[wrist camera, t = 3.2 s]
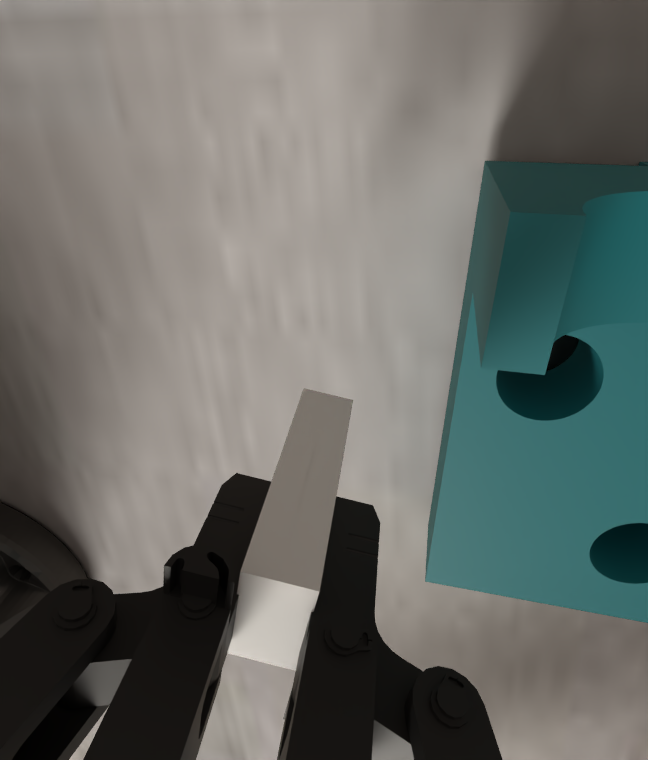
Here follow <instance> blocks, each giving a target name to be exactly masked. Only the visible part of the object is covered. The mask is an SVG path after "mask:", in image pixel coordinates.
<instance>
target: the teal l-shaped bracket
mask: <svg viewBox="0 0 648 760" xmlns="http://www.w3.org/2000/svg"><path fill="white" fill-rule="evenodd" d="M564 335H569V336H573V337H576V338H578V339H579V343H578V345H577V347H576V349H575V351H574V352H573V354H572V355H571V356H570V357H569V358H568V359H567V360H566V361H565V362H564V363H562V364H561V365H559V366H558V367H556V368H554V369H551V370H549V371H546V369H547V365H548V361H549V358H550V354H551V350H552V346H553V342H554V341H556V340H557V339H559V338H560V337H562V336H564ZM520 372H521V373H520ZM527 373H530V374H527ZM425 581H426V582H431V583H436V584H442V585H447V586H453V587H458V588H463V589H469V590H474V591H479V592H485V593H490V594H495V595H501V596H506V597H512V598H517V599H522V600H528V601H533V602H538V603H544V604H549V605H555V606H560V607H565V608H571V609H576V610H581V611H587V612H592V613H598V614H603V615H608V616H614V617H619V618H624V619H630V620H635V621H640V622H646V623H648V162H640V163H639V166H629V165H598V164H567V163H536V162H505V161H485V164H484V171H483V177H482V184H481V190H480V196H479V203H478V209H477V216H476V222H475V229H474V235H473V241H472V248H471V254H470V261H469V267H468V274H467V280H466V286H465V293H464V299H463V306H462V312H461V319H460V325H459V331H458V338H457V344H456V351H455V357H454V364H453V370H452V376H451V383H450V389H449V396H448V402H447V409H446V415H445V421H444V428H443V434H442V441H441V447H440V454H439V460H438V466H437V473H436V479H435V486H434V492H433V499H432V505H431V511H430V518H429V524H428V540H427V559H426V577H425Z"/></svg>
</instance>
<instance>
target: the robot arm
mask: <svg viewBox="0 0 648 760" xmlns="http://www.w3.org/2000/svg"><path fill="white" fill-rule="evenodd" d="M352 403H353V400H350V399H346V398H342V397H338V396H334V395H329V394H325V393H321V392H317V391H313V390H309V389H303V392H302V395H301V398H300V401H299V404H298V407H297V410H296V412H295V415H294V418H293V421H292V424H291V427H290V430H289V433H288V436H287V438H286V441H285V444H284V447H283V450H282V453H281V456H280V459H279V461H278V464H277V467H276V470H275V473H274V476H273V479H272V482H270V481H266V480H262V479H258V478H254V477H250V476H246V475H242V474H238V473H236V474H235V475H234V476H232V477H231V478H230V479H229V480H227V481H226V482H225V483H224V484H223V485H222V486H221V488H220V490H219V492H218V494H217V497H216V499H215V501H214V504H213V505H212V507H211V509H210V512H209V514H208V517H207V518H206V520H205V522H204V524H203V526H202V529H201V531H200V533H199V535H198V537H197V539H196V541H195V544H194V546H190V547H185V548H183V549H181V550H180V551H178V552H177V553H175V554H173V555H172V556H171V557H170V559H169V560H168V561H167V563H166V564H165V565H164V586H163V587H161V588H158V589H155V590H153V591H148V592H142V593H128V594H113V592H112V590H111V589H110V588H109V587H108V586H107V585H105V584H104V583H103V582H100V581H97V580H93V579H87V577H86V574H85V572H84V571H83V569H82V567H81V566H80V564H79V562H78V561H77V560H76V558H75V557H74V556H73V555H72V553H71V552H70V551H69V550H68V549H67V548H66V547H65V546H64V545H63V544H62V543H61V542H60V541H59V540H58V539H57V538H56V537H55V536H53V535H52V534H51V533H50V532H49V531H47V530H46V529H45V528H43V527H42V526H41V525H39V524H38V523H36V522H35V521H33V520H32V519H30V518H29V517H27V516H25V515H23V514H22V513H20V512H18V511H16V510H14V509H12V508H10V507H8V506H6V505H4V504H2V503H0V760H69V759H70V757H71V756H72V755H73V753H74V752H75V751H76V749H77V748H78V747H79V745H80V744H81V742H82V741H83V740H84V738H85V737H86V736H87V734H88V733H89V732H90V730H91V729H92V728H93V726H94V725H95V724H96V722H97V721H98V720H99V718H100V717H101V716H102V714H103V713H104V712H105V710H106V709H107V708H108V710H107V712H106V714H105V716H104V718H103V720H102V722H101V724H100V726H99V728H98V730H97V732H96V734H95V737H94V739H93V741H92V743H91V745H90V747H89V749H88V751H87V753H86V755H85V757H84V759H83V760H196V757H197V754H198V751H199V748H200V745H201V741H202V738H203V735H204V732H205V729H206V725H207V722H208V719H209V716H210V713H211V709H212V706H213V703H214V700H215V697H216V693H217V690H218V687H219V684H220V678H221V672H222V667H223V664H224V661H225V658H226V655H227V652H228V654H232V655H236V656H240V657H244V658H248V659H251V660H255V661H259V662H263V663H267V664H271V665H275V666H279V667H283V668H287V669H291V670H294V671H296V672H295V678H294V683H293V688H292V691H291V694H290V698H289V701H288V704H287V708H286V711H285V714H284V718H283V719H285V722H284V727H283V732H282V737H281V742H280V747H279V752H278V757H277V760H502V757H501V754H500V751H499V748H498V745H497V742H496V739H495V736H494V733H493V730H492V727H491V724H490V720H489V717H488V714H487V711H486V708H485V705H484V703H483V701H482V699H481V697H480V695H479V693H478V691H477V689H476V688H475V687H474V686H473V685H472V684H471V683H470V682H469V681H468V679H467V678H466V677H464V676H463V675H461V674H459V673H458V672H456V671H454V670H453V669H449V668H445V667H440V666H437V667H433V668H428V669H426V670H425V671H424V672H423V671H422V670H420V669H418V668H417V667H415V666H413V665H412V664H410V663H409V662H407V661H405V660H404V659H402V658H401V657H399V656H398V655H397V654H395V653H394V652H393V651H392V650H391V649H390V648H389V647H388V646H387V645H386V644H385V643H384V641H383V640H382V638H381V636H380V634H379V633H378V630H377V627H376V623H375V613H374V612H375V596H376V580H377V565H378V559H377V558H378V549H379V544H378V543H379V533H380V521H379V519H378V517H377V514H376V512H375V509H374V507H373V505H369V504H365V503H361V502H357V501H353V500H349V499H345V498H340V497H336V495H337V489H338V483H339V477H340V472H341V466H342V460H343V455H344V449H345V443H346V438H347V432H348V426H349V420H350V415H351V409H352ZM108 706H109V707H108Z"/></svg>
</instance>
